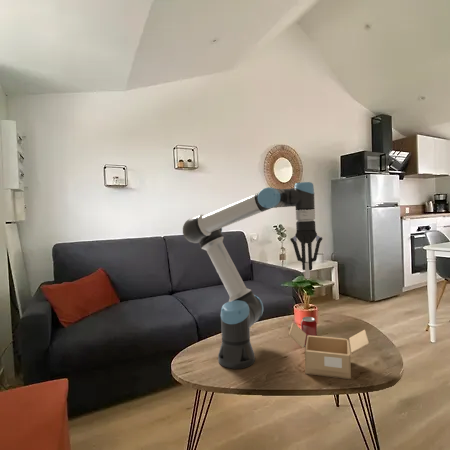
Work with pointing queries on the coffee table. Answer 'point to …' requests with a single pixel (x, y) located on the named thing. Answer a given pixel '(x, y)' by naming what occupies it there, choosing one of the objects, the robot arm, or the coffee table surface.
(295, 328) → the flap
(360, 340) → the flap
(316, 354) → the carton
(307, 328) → the soda can
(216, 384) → the coffee table surface
